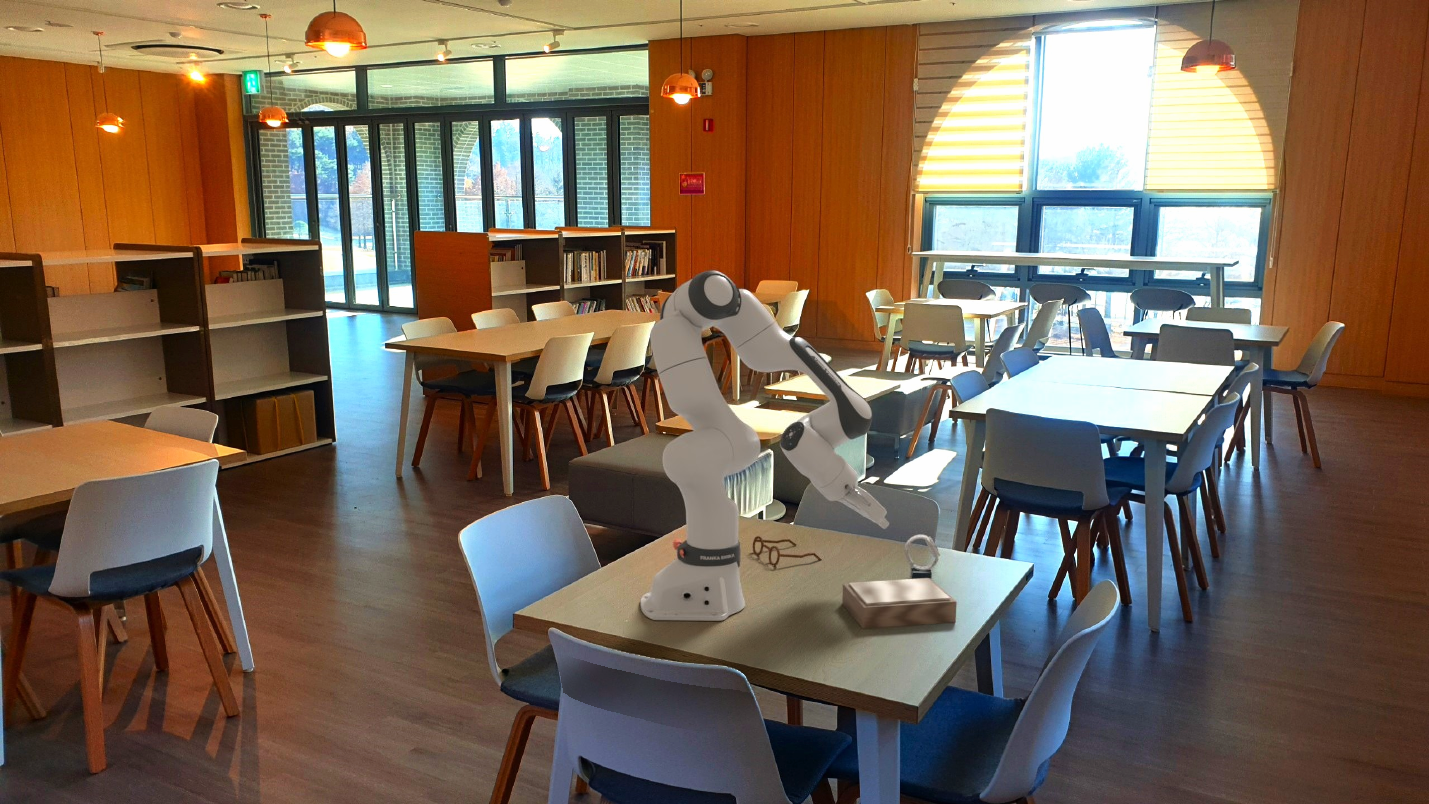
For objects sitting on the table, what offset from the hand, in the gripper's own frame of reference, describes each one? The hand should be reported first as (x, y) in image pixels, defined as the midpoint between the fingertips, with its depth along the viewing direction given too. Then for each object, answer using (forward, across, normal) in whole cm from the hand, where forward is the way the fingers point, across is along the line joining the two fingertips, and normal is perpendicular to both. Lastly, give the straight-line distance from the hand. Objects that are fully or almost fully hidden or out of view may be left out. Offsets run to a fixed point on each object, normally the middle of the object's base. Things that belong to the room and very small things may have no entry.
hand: (876, 520), depth 228 cm
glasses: (+4, +26, +19) cm, 33 cm away
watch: (+20, 0, +3) cm, 20 cm away
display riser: (+10, -16, +13) cm, 22 cm away
